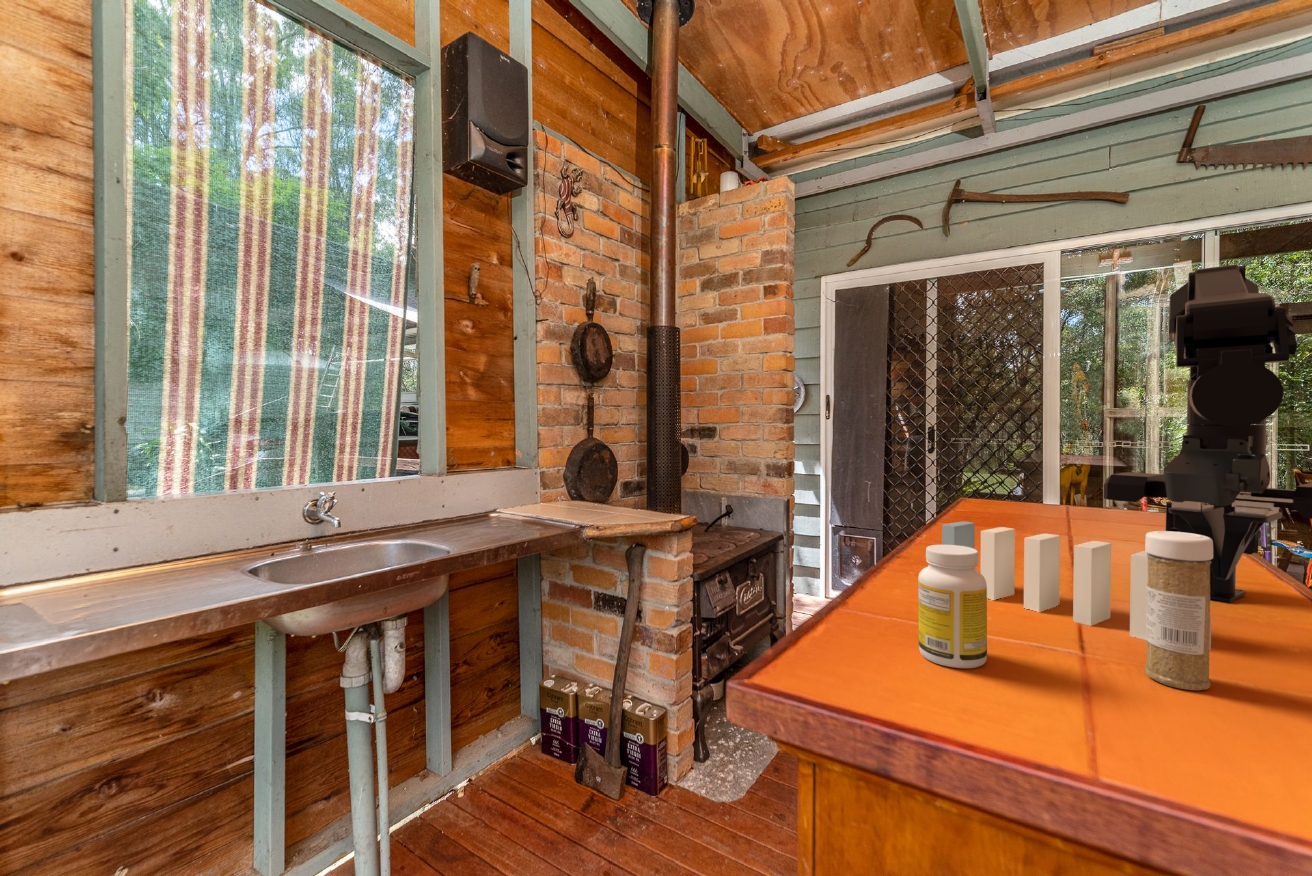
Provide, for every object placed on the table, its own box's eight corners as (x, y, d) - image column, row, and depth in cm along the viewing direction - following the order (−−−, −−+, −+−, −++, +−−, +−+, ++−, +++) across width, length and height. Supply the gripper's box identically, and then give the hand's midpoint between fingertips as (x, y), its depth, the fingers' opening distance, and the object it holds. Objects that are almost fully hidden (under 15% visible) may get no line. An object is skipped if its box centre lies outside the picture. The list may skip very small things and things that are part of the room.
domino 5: (1129, 636, 64) (1130, 554, 64) (1148, 627, 66) (1149, 548, 66) (1150, 641, 62) (1151, 557, 62) (1168, 631, 65) (1170, 551, 65)
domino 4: (1073, 621, 69) (1073, 545, 68) (1092, 613, 71) (1093, 540, 71) (1090, 626, 67) (1091, 548, 67) (1110, 617, 70) (1111, 543, 69)
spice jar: (1217, 683, 52) (1220, 535, 52) (1201, 697, 50) (1204, 541, 49) (1153, 666, 56) (1155, 527, 56) (1135, 678, 54) (1137, 533, 53)
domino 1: (941, 587, 83) (942, 524, 82) (962, 582, 85) (962, 521, 85) (953, 590, 81) (954, 526, 81) (974, 585, 84) (974, 522, 83)
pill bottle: (980, 649, 61) (980, 544, 60) (993, 674, 55) (994, 558, 55) (915, 642, 63) (915, 540, 62) (921, 665, 57) (921, 553, 57)
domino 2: (980, 597, 78) (980, 530, 78) (1000, 591, 81) (1001, 526, 80) (993, 601, 76) (994, 532, 76) (1014, 594, 79) (1015, 528, 79)
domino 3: (1023, 608, 73) (1024, 537, 73) (1044, 601, 76) (1044, 533, 76) (1039, 612, 72) (1039, 540, 71) (1059, 605, 74) (1060, 535, 74)
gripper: (1081, 426, 62) (1079, 570, 63) (1347, 427, 46) (1342, 620, 47) (1126, 424, 68) (1124, 556, 69) (1377, 424, 52) (1373, 596, 53)
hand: (1222, 578), depth 59 cm, fingers closed
